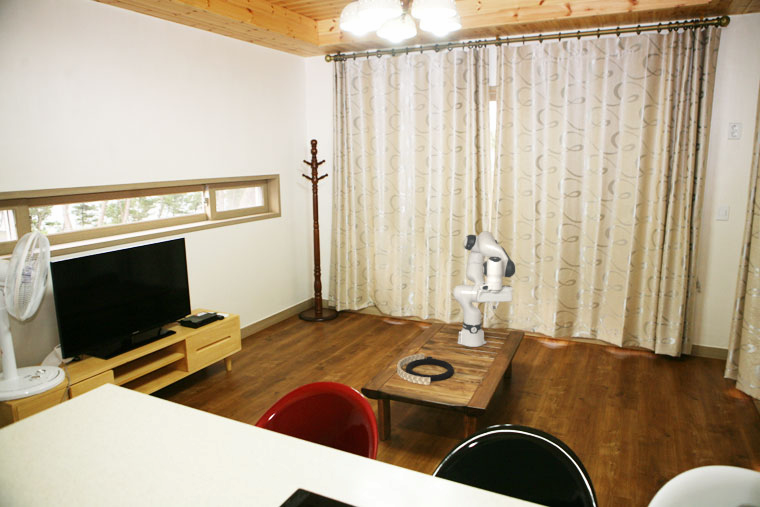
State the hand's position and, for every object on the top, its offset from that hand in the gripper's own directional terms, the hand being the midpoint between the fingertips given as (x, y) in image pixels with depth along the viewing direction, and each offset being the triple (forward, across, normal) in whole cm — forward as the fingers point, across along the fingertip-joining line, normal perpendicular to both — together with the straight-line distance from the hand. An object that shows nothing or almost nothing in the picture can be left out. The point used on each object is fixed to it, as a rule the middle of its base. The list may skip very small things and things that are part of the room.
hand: (493, 309), depth 298 cm
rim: (+34, +47, +7) cm, 59 cm away
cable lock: (+35, +38, +7) cm, 52 cm away
